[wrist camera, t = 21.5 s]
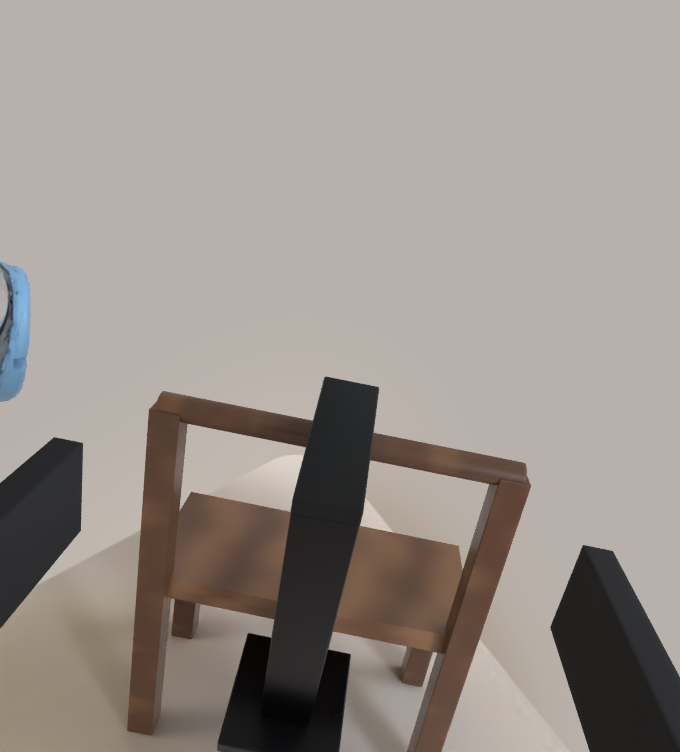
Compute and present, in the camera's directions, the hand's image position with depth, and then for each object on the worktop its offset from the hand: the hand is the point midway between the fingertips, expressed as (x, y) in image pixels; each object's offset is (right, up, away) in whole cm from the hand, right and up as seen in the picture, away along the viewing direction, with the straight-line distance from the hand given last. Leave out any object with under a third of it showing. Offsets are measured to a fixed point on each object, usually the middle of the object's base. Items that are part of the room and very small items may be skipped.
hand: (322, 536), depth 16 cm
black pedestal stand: (-3, -15, +24) cm, 28 cm away
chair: (-3, -19, +27) cm, 33 cm away
